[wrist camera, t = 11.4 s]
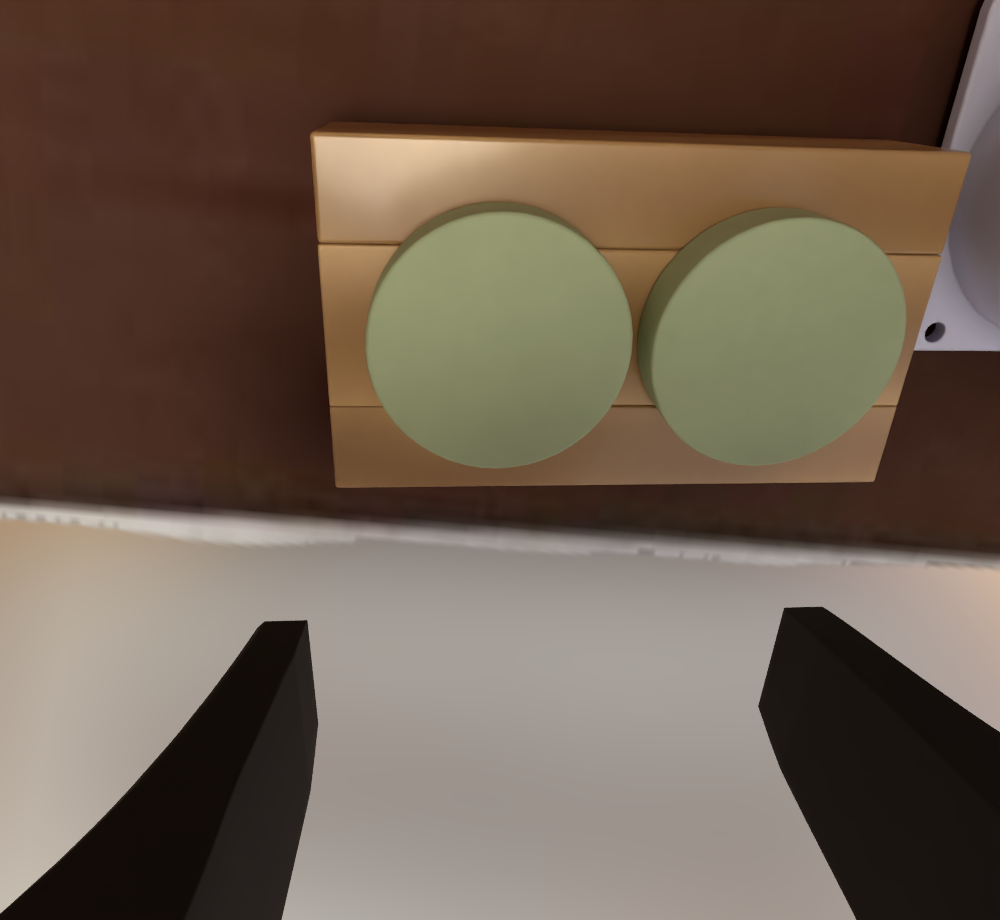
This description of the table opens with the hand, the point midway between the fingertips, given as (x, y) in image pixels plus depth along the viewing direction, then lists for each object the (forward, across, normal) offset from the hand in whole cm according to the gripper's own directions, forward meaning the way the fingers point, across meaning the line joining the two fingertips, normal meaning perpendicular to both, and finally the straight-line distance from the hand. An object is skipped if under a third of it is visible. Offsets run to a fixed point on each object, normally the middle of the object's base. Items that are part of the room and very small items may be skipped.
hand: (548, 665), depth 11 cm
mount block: (+9, -2, -3) cm, 10 cm away
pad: (+9, 0, -3) cm, 10 cm away
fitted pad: (+9, -5, -3) cm, 11 cm away
